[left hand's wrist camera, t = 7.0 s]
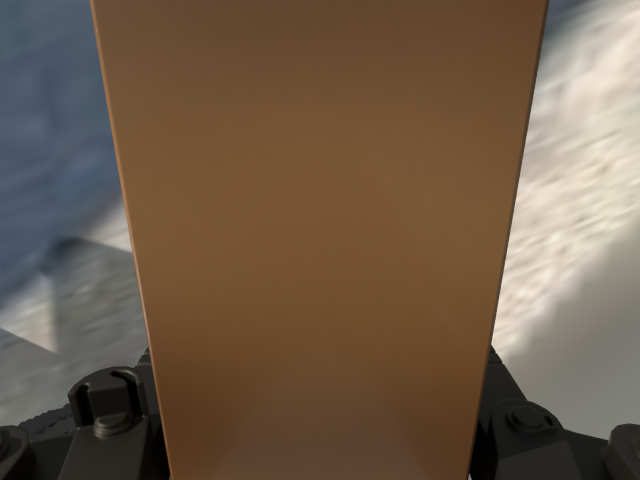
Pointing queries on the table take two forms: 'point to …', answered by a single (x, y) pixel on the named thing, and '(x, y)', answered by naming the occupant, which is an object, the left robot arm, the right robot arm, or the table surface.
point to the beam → (319, 222)
